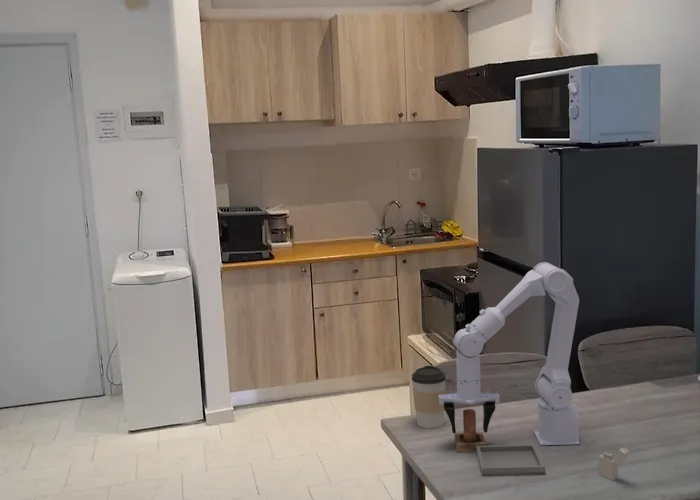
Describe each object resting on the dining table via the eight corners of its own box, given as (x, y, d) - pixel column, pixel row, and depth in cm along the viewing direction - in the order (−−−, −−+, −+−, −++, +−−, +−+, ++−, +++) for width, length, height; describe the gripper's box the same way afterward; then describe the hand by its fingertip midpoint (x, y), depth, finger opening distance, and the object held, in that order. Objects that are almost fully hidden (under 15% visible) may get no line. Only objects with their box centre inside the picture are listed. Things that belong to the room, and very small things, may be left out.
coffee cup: (445, 430, 191) (444, 375, 188) (411, 429, 193) (409, 374, 190) (448, 417, 200) (446, 364, 197) (415, 416, 201) (413, 363, 199)
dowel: (475, 443, 182) (474, 408, 181) (476, 448, 179) (476, 413, 178) (463, 443, 182) (462, 409, 181) (464, 448, 179) (463, 413, 178)
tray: (534, 451, 176) (534, 444, 176) (545, 474, 164) (545, 466, 164) (476, 452, 177) (476, 445, 176) (482, 475, 165) (482, 468, 165)
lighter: (597, 473, 163) (597, 439, 162) (602, 471, 164) (603, 437, 163) (624, 485, 157) (624, 450, 156) (629, 483, 158) (630, 448, 157)
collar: (482, 439, 184) (482, 432, 184) (486, 451, 177) (486, 443, 177) (454, 440, 184) (454, 432, 184) (457, 452, 178) (457, 444, 177)
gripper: (439, 384, 175) (441, 438, 177) (501, 383, 174) (501, 437, 176) (437, 375, 181) (439, 426, 184) (496, 373, 181) (497, 425, 183)
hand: (469, 431), depth 180 cm, fingers open, 7 cm apart
